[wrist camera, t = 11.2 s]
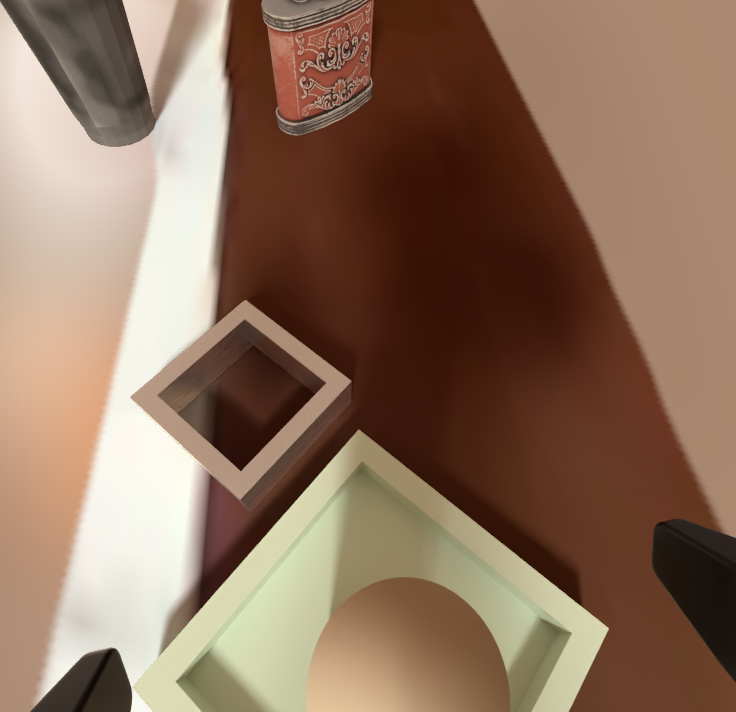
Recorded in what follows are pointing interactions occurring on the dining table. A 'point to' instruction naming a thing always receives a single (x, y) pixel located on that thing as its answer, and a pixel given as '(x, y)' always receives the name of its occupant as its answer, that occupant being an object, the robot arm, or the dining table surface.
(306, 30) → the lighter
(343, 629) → the pin
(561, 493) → the dining table surface
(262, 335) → the pin socket
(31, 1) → the beverage cup
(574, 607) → the tray
